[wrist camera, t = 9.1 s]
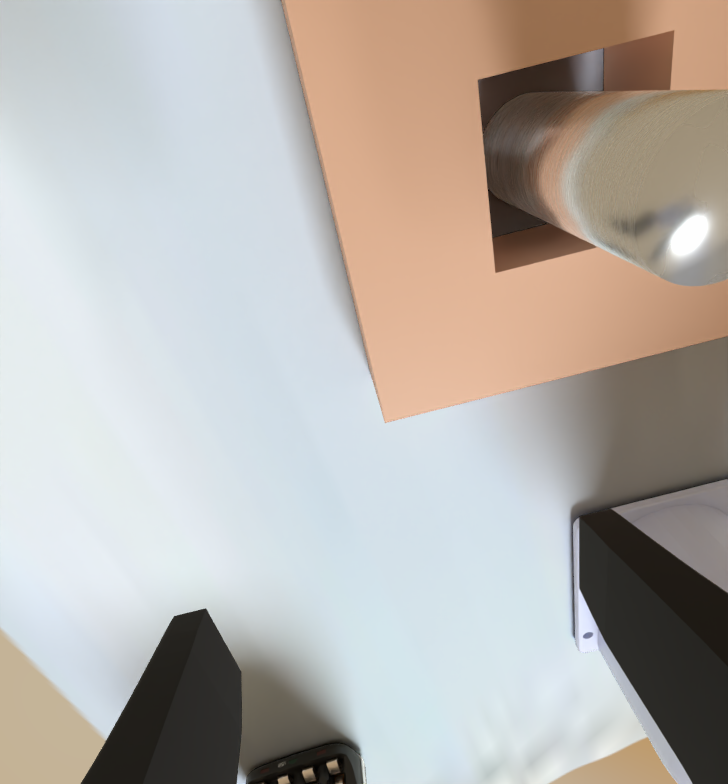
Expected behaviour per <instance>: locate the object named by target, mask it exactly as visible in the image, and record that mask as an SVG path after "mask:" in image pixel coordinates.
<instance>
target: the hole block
mask: <svg viewBox="0 0 728 784" xmlns="http://www.w3.org/2000/svg"><path fill="white" fill-rule="evenodd" d="M281 2H282V6H283V10H284V15H285V19H286V23H287V27H288V31H289V35H290V39H291V44H292V48H293V52H294V56H295V60H296V64H297V69H298V73H299V77H300V81H301V85H302V89H303V94H304V98H305V102H306V106H307V110H308V114H309V119H310V123H311V127H312V131H313V135H314V139H315V143H316V148H317V152H318V156H319V160H320V164H321V168H322V173H323V177H324V181H325V185H326V189H327V193H328V198H329V202H330V206H331V210H332V214H333V218H334V223H335V227H336V231H337V235H338V239H339V243H340V247H341V252H342V256H343V260H344V264H345V268H346V272H347V277H348V281H349V285H350V289H351V293H352V297H353V302H354V306H355V310H356V314H357V318H358V322H359V326H360V331H361V335H362V339H363V343H364V347H365V351H366V356H367V360H368V364H369V368H370V372H371V376H372V380H373V383H374V387H375V390H376V394H377V397H378V400H379V404H380V407H381V411H382V414H383V417H384V421H385V423H387V422H391V421H395V420H399V419H402V418H406V417H410V416H414V415H418V414H422V413H426V412H430V411H434V410H438V409H442V408H446V407H450V406H454V405H458V404H462V403H466V402H470V401H474V400H478V399H482V398H485V397H489V396H493V395H497V394H501V393H505V392H509V391H513V390H517V389H521V388H525V387H529V386H533V385H537V384H541V383H545V382H549V381H553V380H557V379H561V378H565V377H568V376H572V375H576V374H580V373H584V372H588V371H592V370H596V369H600V368H604V367H608V366H612V365H616V364H620V363H624V362H628V361H632V360H636V359H640V358H644V357H648V356H651V355H655V354H659V353H663V352H667V351H671V350H675V349H679V348H683V347H687V346H691V345H695V344H699V343H703V342H707V341H711V340H715V339H719V338H723V337H727V336H728V279H726V280H724V281H721V282H718V283H714V284H710V285H704V286H682V285H678V284H674V283H671V282H669V281H666V280H664V279H662V278H660V277H658V276H656V275H654V274H652V273H650V272H648V271H646V270H644V269H642V268H640V267H638V266H636V265H634V264H632V263H629V262H627V261H625V260H623V259H621V258H619V257H617V256H615V255H613V254H611V253H609V252H607V251H605V250H603V249H601V248H599V247H597V246H595V245H593V244H591V243H589V242H587V241H585V240H582V239H580V238H578V237H576V236H574V235H572V234H570V233H568V232H566V231H564V230H562V229H560V228H558V227H556V226H554V225H552V224H546V225H542V226H538V227H534V228H530V229H526V230H522V231H518V232H514V233H510V234H506V235H502V236H498V237H494V238H492V231H491V220H490V209H489V199H488V188H487V177H486V166H485V155H484V144H483V134H482V123H481V112H480V101H479V90H478V80H479V79H483V78H487V77H491V76H495V75H499V74H503V73H507V72H510V71H514V70H518V69H522V68H526V67H530V66H534V65H538V64H542V63H546V62H550V61H554V60H558V59H562V58H566V57H570V56H574V55H578V54H582V53H586V52H589V51H593V50H597V49H601V48H604V91H648V90H722V89H728V0H281Z"/></svg>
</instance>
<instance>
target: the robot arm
mask: <svg viewBox="0 0 728 784" xmlns="http://www.w3.org/2000/svg"><path fill="white" fill-rule="evenodd" d="M573 548H574V599H575V644H576V646H577V648H578V650H579V651H580V652H582V653H588V652H592V651H596V650H599V651H600V652H601V654H602V656H603V658H604V660H605V661H606V663H607V665H608V667H609V669H610V670H611V672H612V674H613V676H614V677H615V679H616V681H617V683H618V685H619V686H620V688H621V690H622V692H623V694H624V695H625V697H626V699H627V701H628V702H629V704H630V706H631V708H632V710H633V711H634V713H635V715H636V717H637V719H638V720H639V722H640V724H641V726H642V727H643V729H644V731H645V733H646V735H647V736H648V738H649V740H650V742H651V744H652V745H653V747H654V749H655V750H656V752H657V754H658V756H659V758H660V760H661V761H662V763H663V764H664V766H665V767H666V769H667V770H668V772H669V773H670V774H671V776H672V777H673V778H674V779H675V780H676V782H677V783H678V784H728V479H725V480H721V481H717V482H713V483H709V484H705V485H701V486H697V487H693V488H689V489H685V490H682V491H678V492H674V493H670V494H666V495H662V496H658V497H654V498H650V499H646V500H642V501H638V502H634V503H630V504H626V505H622V506H618V507H614V508H610V509H606V510H602V511H599V512H595V513H591V514H587V515H583V516H579V518H578V519H576V521H575V522H574V525H573ZM241 731H242V692H241V671H240V669H239V667H238V665H237V663H236V662H235V660H234V658H233V656H232V654H231V653H230V651H229V649H228V647H227V645H226V644H225V642H224V640H223V638H222V637H221V635H220V633H219V631H218V629H217V628H216V626H215V624H214V622H213V620H212V619H211V617H210V615H209V613H208V611H207V610H206V609H202V610H198V611H193V612H189V613H185V614H181V615H177V616H174V618H173V619H172V621H171V622H170V624H169V626H168V628H167V630H166V631H165V633H164V635H163V637H162V639H161V641H160V643H159V645H158V647H157V648H156V650H155V652H154V654H153V656H152V658H151V660H150V662H149V664H148V666H147V667H146V669H145V671H144V673H143V675H142V677H141V679H140V681H139V682H138V684H137V686H136V688H135V690H134V692H133V694H132V695H131V697H130V699H129V701H128V703H127V705H126V706H125V708H124V710H123V712H122V713H121V715H120V717H119V719H118V721H117V722H116V724H115V726H114V728H113V729H112V731H111V733H110V735H109V737H108V738H107V740H106V742H105V744H104V746H103V747H102V749H101V751H100V752H99V754H98V756H97V758H96V759H95V761H94V763H93V764H92V766H91V768H90V769H89V771H88V773H87V774H86V776H85V778H84V779H83V781H82V782H81V784H237V773H238V763H239V753H240V743H241Z"/></svg>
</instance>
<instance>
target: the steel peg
mask: <svg viewBox="0 0 728 784" xmlns="http://www.w3.org/2000/svg"><path fill="white" fill-rule="evenodd" d="M483 144H484V155H485V166H486V177H487V187H488V188H489V190H490V191H491V192H492V193H493V194H494V195H495V196H496V197H498V198H499V199H501V200H503V201H505V202H507V203H509V204H511V205H513V206H515V207H517V208H519V209H521V210H523V211H525V212H527V213H529V214H531V215H533V216H535V217H538V218H540V219H542V220H544V221H546V222H548V223H550V224H552V225H554V226H556V227H558V228H560V229H562V230H564V231H566V232H568V233H570V234H572V235H574V236H576V237H578V238H580V239H582V240H585V241H587V242H589V243H591V244H593V245H595V246H597V247H599V248H601V249H603V250H605V251H607V252H609V253H611V254H613V255H615V256H617V257H619V258H621V259H623V260H625V261H627V262H629V263H632V264H634V265H636V266H638V267H640V268H642V269H644V270H646V271H648V272H650V273H652V274H654V275H656V276H658V277H660V278H662V279H664V280H666V281H669V282H671V283H674V284H678V285H682V286H704V285H710V284H714V283H718V282H721V281H724V280H726V279H728V89H722V90H648V91H574V92H531V93H526V94H522V95H520V96H517V97H515V98H513V99H512V100H510V101H508V102H507V103H506V104H505V105H503V106H502V107H501V108H500V109H499V110H498V111H497V112H496V113H495V115H494V116H493V117H492V119H491V120H490V122H489V123H488V125H487V127H486V129H485V131H484V134H483Z"/></svg>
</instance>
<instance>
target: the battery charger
mask: <svg viewBox="0 0 728 784" xmlns="http://www.w3.org/2000/svg"><path fill="white" fill-rule="evenodd" d="M246 784H367V783H366V770H365V763H364V759H363V758H362V757H361V756H360V755H359V754H357V753H356V752H355V751H354V750H353V749H352V748H350V747H349V746H347V745H344V744H330V745H325V746H321V747H318V748H315V749H311V750H308V751H305V752H301V753H298V754H295V755H292V756H289V757H286V758H283V759H280V760H277V761H274V762H272V763H269V764H266V765H263V766H261V767H259V768H257V769H255V770H253V771H252V772H251V773H250V774H249V775H248V777H247V780H246Z"/></svg>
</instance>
